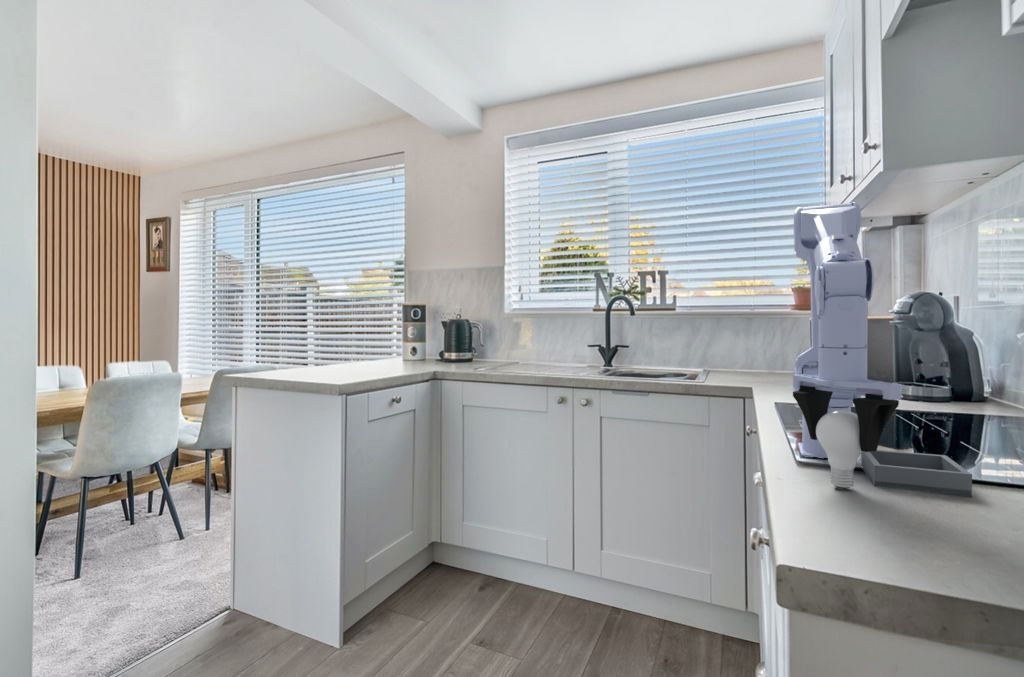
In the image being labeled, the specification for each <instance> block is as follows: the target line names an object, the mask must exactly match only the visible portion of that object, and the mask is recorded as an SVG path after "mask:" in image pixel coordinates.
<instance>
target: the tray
mask: <svg viewBox="0 0 1024 677" xmlns="http://www.w3.org/2000/svg"><path fill="white" fill-rule="evenodd" d="M860 458H861V460H860V461H861V462H860V467H861V466H862V467H863V469H862V471H863V472H864V473H865V475H866V476H867V478H868V480H869V481H870V482H871V485H873V486H874V487H877V488H886V489H887V488H888V489H893V490H895V489H896V490H904V491H913V492H923V493H929V494H930V493H933V494H941V495H952V496H958V497H959V496H961V497H966V498H972V497H973V474H972V473H971V472H969V471H968V470H967V469H965V468H964V467H963V466H961V465H960V464H958V463H957V462H956V461H954V460H953V459H952V458H951V457H949V456H948V455H947V454H946V455H945V454H944V455H943V454H933V453H919V452H909V451H897V450H896V451H895V450H886V449H885V450H884V449H883V450H882V449H877V451H871V452H864V451H863V452H862V453H861V454H860Z"/></svg>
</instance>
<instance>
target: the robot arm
mask: <svg viewBox="0 0 1024 677" xmlns="http://www.w3.org/2000/svg"><path fill="white" fill-rule="evenodd" d="M793 212H794V213H793V239H794V240H793V242H794V243H793V244H794V252H795V256H796V258H799V259H801V260H804V261H805V262H806V264H807V267H808V270H809V276H810V278H809V279H810V284H809V285H810V325H811V326H810V328H811V329H810V332H811V334H810V335H811V347H809V348H808V349H807V350H805V351H804V352H802V353H800V354H799V355H798V356H796V359H795V360H794V368H793V375H792V387H793V391H792V397H793V399H794V400H795V401H796V403H797V405H798V406H799V408H800V411H801V413H802V419H801V420H802V422H801V424H802V431H801V432H802V433H801V434H802V439H801V440H802V441H801V442H798V444H797V446H798V450H799V453H801V454H800V456H801V455H802V456H801V457H803V456H809V457H808V458H813V457H818V458H817V459H824V458H828V457H827V454H826V452H825V451H824V449H823V448H822V446H821V445H820V443H819V442H818V439H817V437H816V426H817V423H818V421H819V420H820V418H821V417H822V416H824V415H825V414H827V413H829V412H831V411H836V410H845V411H849V412H852V411H851V410H852V407H854V409H855V412H856V414H857V416H858V422H859V440H860V448H861V451H864V452H871V451H877V450H878V447H879V445H880V441H881V436H882V434H883V431H884V429H885V427H886V426H887V423H888V422H889V419H890V418H891V417H892V414H893V413H894V412H895V410H896V409H897V408H898V407H899V406H900V405H899V404H900V402H899V400H902V384H901V383H893V382H885V381H880V380H873V379H868V335H869V334H868V333H869V332H868V330H869V329H868V326H869V325H868V323H869V322H868V321H869V318H868V317H869V316H868V315H869V314H868V313H869V312H868V310H869V308H868V307H869V305H868V304H869V303H868V302H870V301H871V299H872V295H873V291H874V285H875V282H874V281H875V276H874V269H873V263H872V260H871V259H870V258H866V257H865V258H862V254H861V252H860V248H859V245H858V238H859V235H860V232H861V227H862V226H861V224H862V208H861V205H860V204H859V203H858V201H852V202H847V203H836V204H826V205H818V206H817V205H816V206H808V207H807V206H806V207H802V206H798V207H796V209H795V210H794V211H793ZM863 396H864V397H863Z"/></svg>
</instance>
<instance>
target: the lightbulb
mask: <svg viewBox="0 0 1024 677" xmlns="http://www.w3.org/2000/svg"><path fill="white" fill-rule="evenodd" d="M816 437H817V439H818V442H819V443H820V445H821V446H822V448H823V449H824V451H825V452H826V454H827V457H828V459H827V461H828V464H829V466H830V473H831V474H830V479H831V480H830V484H831V485H832V486H834V487H835V488H837V489H839V490H841V491H843V490H844V491H845V490H848V489H850V488H853V487H855V486H854V480H855V479H854V474H855V470H854V469H855V468H856V467H857V463H858V459H859V457H861V453H862V452H863V451H861V448H860V440H859V422H858V416H857V413H855V412H852V411H851V412H849V411H845V410H836V411H831V412H829V413H827V414H825V415H824V416H822V417H821V418H820V420H819V421H818V423H817V426H816Z"/></svg>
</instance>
